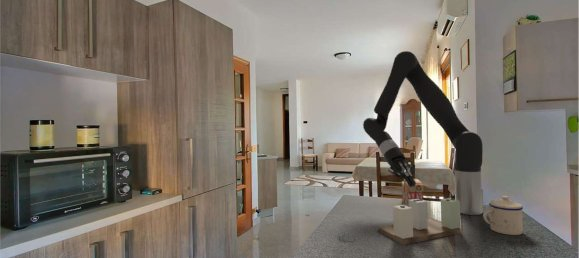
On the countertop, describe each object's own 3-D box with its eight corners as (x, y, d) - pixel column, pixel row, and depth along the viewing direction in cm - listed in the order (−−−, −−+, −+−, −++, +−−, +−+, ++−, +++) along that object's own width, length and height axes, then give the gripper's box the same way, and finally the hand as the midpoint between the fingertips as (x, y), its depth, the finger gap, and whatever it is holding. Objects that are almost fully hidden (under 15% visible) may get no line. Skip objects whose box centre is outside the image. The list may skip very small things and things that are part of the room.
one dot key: (403, 232, 91) (403, 203, 91) (413, 236, 88) (412, 207, 88) (393, 234, 90) (393, 205, 90) (402, 238, 86) (402, 208, 86)
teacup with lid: (508, 225, 100) (508, 192, 100) (530, 235, 91) (530, 199, 91) (475, 226, 100) (474, 193, 100) (494, 236, 91) (493, 200, 91)
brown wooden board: (431, 221, 106) (431, 217, 106) (460, 232, 94) (460, 228, 94) (378, 231, 97) (378, 227, 97) (403, 244, 86) (403, 239, 86)
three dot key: (418, 224, 98) (418, 197, 98) (427, 228, 95) (427, 200, 95) (409, 225, 97) (409, 199, 97) (418, 229, 93) (417, 201, 93)
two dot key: (450, 223, 98) (449, 197, 98) (460, 227, 94) (459, 199, 94) (441, 225, 97) (440, 198, 97) (451, 229, 93) (450, 201, 93)
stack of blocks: (401, 200, 138) (401, 175, 138) (415, 200, 136) (415, 175, 136) (407, 213, 117) (407, 183, 117) (424, 214, 115) (423, 184, 115)
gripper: (382, 147, 118) (404, 181, 106) (407, 145, 122) (431, 178, 111) (375, 158, 123) (395, 192, 111) (399, 156, 127) (421, 189, 116)
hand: (413, 185), depth 111 cm, fingers closed
